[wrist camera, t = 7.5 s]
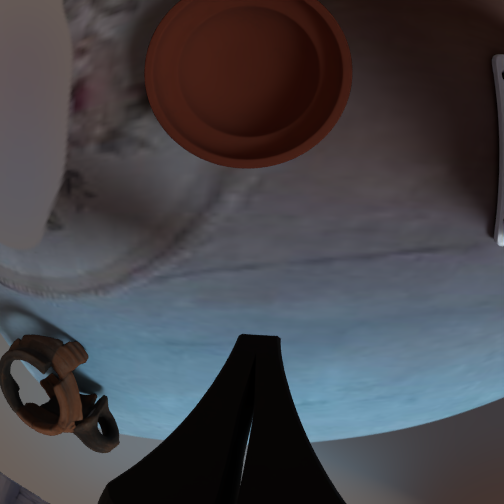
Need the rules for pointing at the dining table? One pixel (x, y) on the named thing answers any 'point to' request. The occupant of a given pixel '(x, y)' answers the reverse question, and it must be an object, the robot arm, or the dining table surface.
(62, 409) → the broken clay jug rim
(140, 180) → the dining table surface
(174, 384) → the dining table surface
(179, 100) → the pottery
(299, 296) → the dining table surface
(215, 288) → the dining table surface
